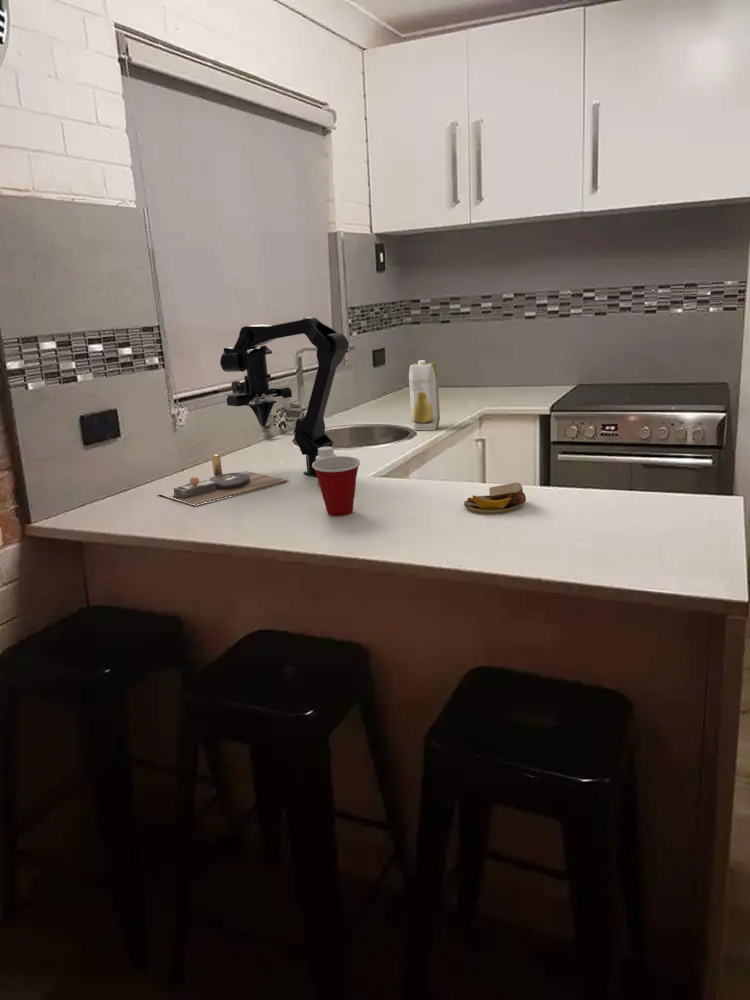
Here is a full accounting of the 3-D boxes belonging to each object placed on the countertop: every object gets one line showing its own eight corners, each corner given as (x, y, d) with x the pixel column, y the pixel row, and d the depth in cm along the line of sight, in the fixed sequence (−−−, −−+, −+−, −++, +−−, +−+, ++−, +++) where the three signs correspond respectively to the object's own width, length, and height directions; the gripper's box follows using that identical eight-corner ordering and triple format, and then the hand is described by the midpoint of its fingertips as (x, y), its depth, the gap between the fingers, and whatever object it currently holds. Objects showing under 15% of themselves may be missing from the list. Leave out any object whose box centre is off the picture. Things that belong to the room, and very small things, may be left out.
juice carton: (410, 431, 263) (406, 361, 256) (416, 427, 270) (412, 359, 263) (436, 431, 260) (433, 360, 253) (441, 426, 267) (438, 358, 261)
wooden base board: (287, 482, 203) (286, 471, 202) (195, 506, 185) (194, 495, 184) (246, 472, 217) (244, 463, 217) (157, 494, 199) (155, 484, 199)
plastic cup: (321, 522, 165) (316, 469, 161) (312, 510, 175) (307, 459, 171) (369, 515, 167) (365, 462, 164) (357, 503, 177) (353, 453, 174)
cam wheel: (216, 477, 211) (213, 454, 209) (256, 477, 207) (253, 453, 206) (196, 488, 200) (192, 464, 198) (238, 488, 196) (235, 463, 195)
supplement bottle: (316, 485, 197) (312, 447, 194) (336, 482, 198) (333, 444, 196) (321, 490, 192) (317, 451, 189) (342, 487, 193) (338, 448, 190)
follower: (215, 488, 198) (213, 473, 197) (188, 495, 193) (186, 479, 192) (209, 487, 200) (207, 471, 199) (182, 494, 195) (180, 478, 194)
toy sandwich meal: (468, 500, 175) (467, 480, 173) (527, 500, 171) (527, 480, 170) (460, 516, 163) (459, 494, 162) (523, 516, 159) (523, 495, 158)
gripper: (267, 366, 222) (273, 419, 226) (212, 374, 210) (219, 429, 214) (290, 367, 214) (295, 422, 218) (234, 375, 202) (241, 433, 206)
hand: (263, 426), depth 214 cm, fingers closed
